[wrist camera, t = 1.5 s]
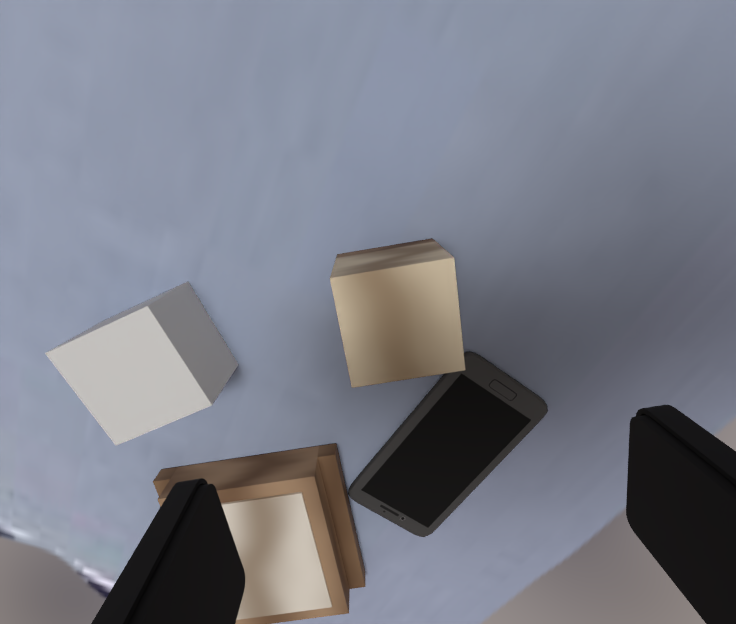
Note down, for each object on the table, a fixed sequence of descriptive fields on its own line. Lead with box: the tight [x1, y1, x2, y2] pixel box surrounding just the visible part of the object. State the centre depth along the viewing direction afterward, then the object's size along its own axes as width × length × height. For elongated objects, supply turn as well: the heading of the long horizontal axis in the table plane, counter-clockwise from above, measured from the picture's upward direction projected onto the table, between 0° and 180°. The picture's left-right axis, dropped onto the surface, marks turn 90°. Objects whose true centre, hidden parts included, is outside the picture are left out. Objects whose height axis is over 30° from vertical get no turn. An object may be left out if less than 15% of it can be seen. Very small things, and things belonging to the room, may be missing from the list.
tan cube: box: [330, 239, 465, 388], centre depth 22 cm, size 6×6×6 cm
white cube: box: [45, 282, 238, 445], centre depth 23 cm, size 6×6×5 cm
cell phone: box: [348, 352, 548, 537], centre depth 28 cm, size 7×14×1 cm, turn 145°
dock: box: [153, 443, 365, 624], centre depth 29 cm, size 12×12×3 cm
